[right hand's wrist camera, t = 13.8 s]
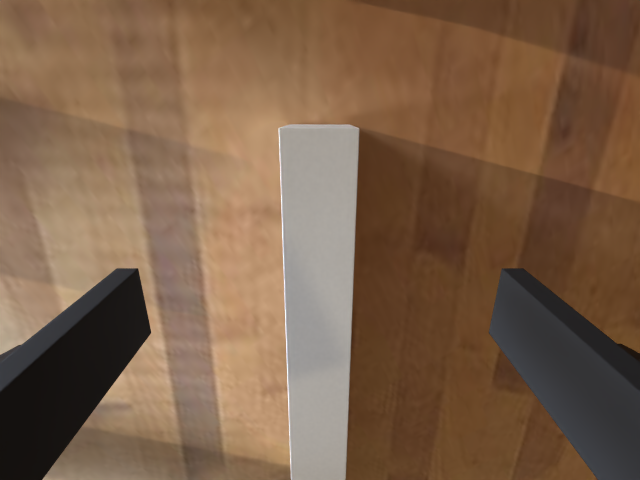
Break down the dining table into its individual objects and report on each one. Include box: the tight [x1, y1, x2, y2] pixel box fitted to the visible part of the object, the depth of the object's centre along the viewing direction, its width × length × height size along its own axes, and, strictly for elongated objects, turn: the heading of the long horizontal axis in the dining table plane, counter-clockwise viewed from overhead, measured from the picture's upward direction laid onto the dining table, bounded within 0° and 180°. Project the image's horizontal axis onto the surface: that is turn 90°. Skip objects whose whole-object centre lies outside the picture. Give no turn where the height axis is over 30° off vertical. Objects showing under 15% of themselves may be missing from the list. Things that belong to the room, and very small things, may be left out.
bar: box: [279, 124, 359, 480], centre depth 34 cm, size 52×5×8 cm, turn 0°
